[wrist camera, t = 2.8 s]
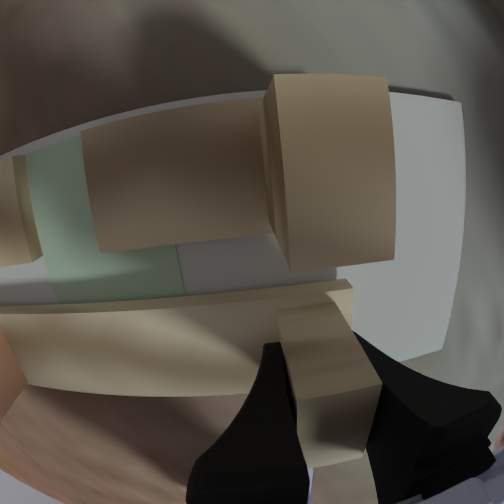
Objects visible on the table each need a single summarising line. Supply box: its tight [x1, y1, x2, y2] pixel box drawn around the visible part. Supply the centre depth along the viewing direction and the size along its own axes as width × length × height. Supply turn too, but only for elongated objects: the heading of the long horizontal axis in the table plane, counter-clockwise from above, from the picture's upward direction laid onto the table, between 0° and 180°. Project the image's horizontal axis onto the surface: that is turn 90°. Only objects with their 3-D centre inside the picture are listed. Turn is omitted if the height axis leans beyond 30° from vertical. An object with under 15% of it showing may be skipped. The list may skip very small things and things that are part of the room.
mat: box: [0, 90, 466, 362], centre depth 13 cm, size 14×32×1 cm, turn 96°
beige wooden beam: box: [0, 278, 383, 469], centre depth 10 cm, size 5×24×6 cm, turn 96°
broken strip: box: [0, 74, 396, 273], centre depth 8 cm, size 5×24×6 cm, turn 95°
